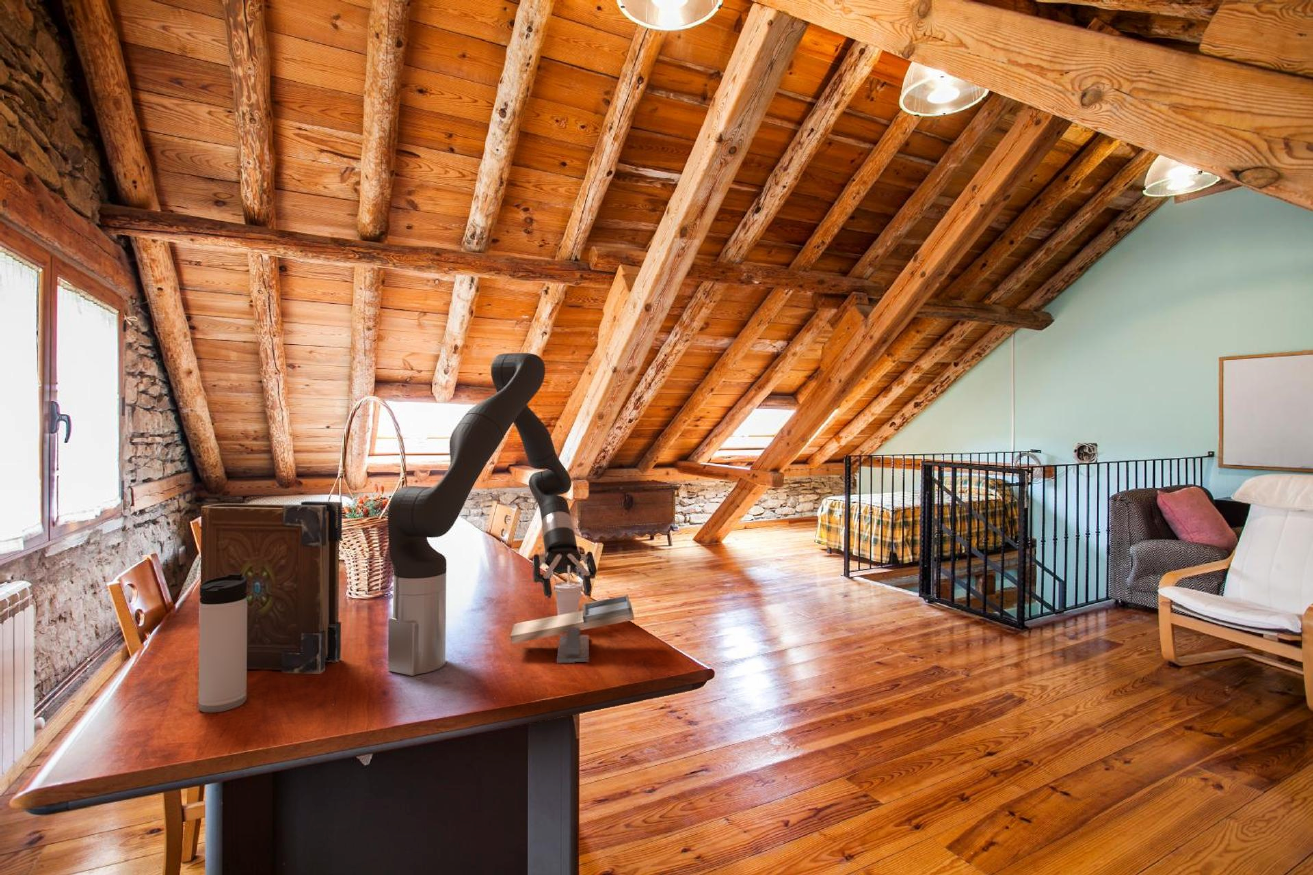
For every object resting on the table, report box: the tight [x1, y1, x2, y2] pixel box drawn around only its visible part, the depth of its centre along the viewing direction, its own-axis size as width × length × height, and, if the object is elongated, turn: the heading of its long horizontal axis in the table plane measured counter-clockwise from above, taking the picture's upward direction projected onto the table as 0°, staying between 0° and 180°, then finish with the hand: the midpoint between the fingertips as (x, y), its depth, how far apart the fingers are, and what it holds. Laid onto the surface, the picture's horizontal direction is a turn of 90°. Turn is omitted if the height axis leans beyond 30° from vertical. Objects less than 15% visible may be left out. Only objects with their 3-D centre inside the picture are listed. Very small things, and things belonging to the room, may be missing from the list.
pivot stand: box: [556, 612, 590, 664], centre depth 127 cm, size 6×14×6 cm, turn 7°
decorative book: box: [200, 500, 343, 675], centre depth 117 cm, size 23×7×30 cm, turn 88°
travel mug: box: [197, 574, 248, 714], centre depth 100 cm, size 6×7×20 cm
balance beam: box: [509, 594, 635, 645], centre depth 127 cm, size 24×10×3 cm, turn 96°
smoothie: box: [553, 566, 584, 615], centre depth 142 cm, size 6×6×14 cm
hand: (568, 594), depth 141 cm, fingers open, 8 cm apart
